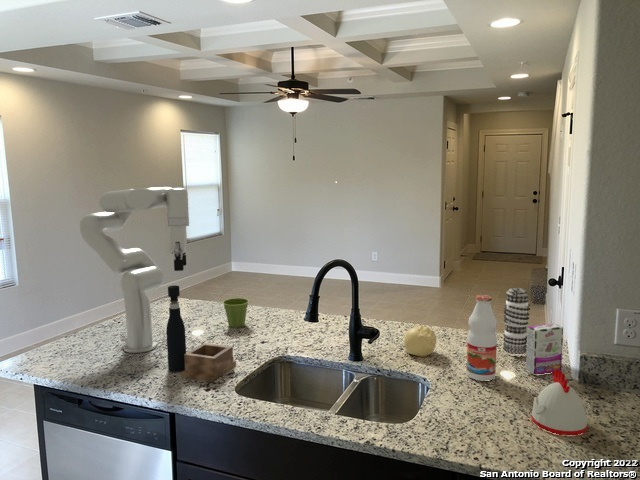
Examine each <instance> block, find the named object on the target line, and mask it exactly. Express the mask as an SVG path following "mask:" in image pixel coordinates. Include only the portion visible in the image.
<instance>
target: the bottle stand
mask: <svg viewBox="0 0 640 480" xmlns="http://www.w3.org/2000/svg"><path fill="white" fill-rule="evenodd" d="M233 348H234V347H233V346H229V345H221V344H216V343H215V344H213V343H207V342H203V343H201V344H199V345H198V346H196V347H195V348H193V349H191V350H190V351H187V352H186V354H184V359H185V370H184V371H182V372H181V378H184V379H190V380H196V381H202V382H207V383H208V382H209V383H213V382H215V381H217V379H218V378H220V377H222V376H223V375H224V374H226V373H227V372H228V371H230V370H231V369H233V368H234V367H235V366H236V365H237V361H236V360H234V352H233V350H234V349H233Z"/></svg>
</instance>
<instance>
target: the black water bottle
mask: <svg viewBox="0 0 640 480" xmlns="http://www.w3.org/2000/svg"><path fill="white" fill-rule="evenodd" d="M167 295H168V298H170V303H169V308H168V312H169V313H168V315H169V317H168V320H167V323H166V331H165V332H166V348H167V350H166V351H167V365H168V366H167V367H168V369H167V370H168V371H169V372H171V373H180V372H184V371H185V359H184V354H186V353H187V344H186V343H187V342H186V340H187V339H186V327H185V322H184V320H183V317H182V315H181V307H180V303H179V297H180V296H181V295H180V285H169V286H167Z"/></svg>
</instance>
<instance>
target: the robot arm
mask: <svg viewBox="0 0 640 480" xmlns="http://www.w3.org/2000/svg"><path fill="white" fill-rule="evenodd" d="M98 199H99V200H98V204H99V207H100V208H101V210H103V211H99V212H92V213H89V214H86V215H84V216H83V217H82V218H81V220H80V223H79V231H80V234H81V237H82V239H83V240H84V242H85V243H86V244H87V245H88V246H89V247H90V249H92V250H93V251H94V252H95V253H96V254H97V255H98V256H99V257H100V259H101V260H102V261H103V262H104V263H105V265H106V266H107V267H108V268H109V269H110V270H111V272H113V274H115V275H122V277H121V279H120V287H121V291H122V296H123V299H124V300H123V302H124V313H125V326H126V327H125V328H126V334H123V335H122V336H121V337H120V342H121V343H122V342H124V345H123V351H124V352H126V353H130V354H139V353H145V352H146V353H147V352H149V351H152V350H154V349H156V348H157V346H158V342H157V341H155V340H153V325H152V322H153V321H152V307H151V301H150V299H149V297H148V296H147V294H146V293H147V292H149V291H153V290H156V289H159V288H161V287H162V285H163V284H164V282H165V277H164V273H163V270H162V269H161V268H160V267H159V265H158V264H157V263H156V262H155V261H154V259H152V257H150V255H149V254H148V252H146V251H145V250H143V249H142V248H139V247H132V248H123V247H122V246H121V245H120V244H119V243H118V242H117V240H115V239H114V238H113V237H111V236H109V235H107V234H106V233H113V232H118V231H119V232H120V230H122V229H123V228H124V227H125V226H126V224H127V222H128V221H129V220H130V218H131V216H132V214H134V212H136V211H139V210H140V211H141V210H152V209H159V208H161V209H162V208H163V209H164V208H166V215H167V227H170V232H169V238H170V239H169V241H170V245H169V247H170V254H171V255H173V269H174V271H175V272H178V271H179V272H183V271H184V269H185V268H184V266H187V255H186V251H187V249H188V248H187V245H188V243H187V227H189V226H190V218H189V216H190V215H189V214H190V213H189V194H188V190H187V189H186V188H183V187H173V188H172V187H170V186H163V187H162V186H161V187H160V186H159V187H158V186H156V187H147V188H146V187H145V188H143V187H142V188H136V189H134V188H129V189H121V190H112V191H106V192H104V193H103V194H102V195H101V196H100V198H98Z"/></svg>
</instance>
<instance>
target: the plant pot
mask: <svg viewBox="0 0 640 480" xmlns="http://www.w3.org/2000/svg"><path fill="white" fill-rule="evenodd" d="M249 302H250V300H249V299H247V298H242V297H235V298H234V297H233V298H228V299H225V300H222V304H223V307H224V310H225V314H226V319H227V323H228V326H229V327H230V328H240V327H244V326H245V325H246V316H247V309H248V305H249Z"/></svg>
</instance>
